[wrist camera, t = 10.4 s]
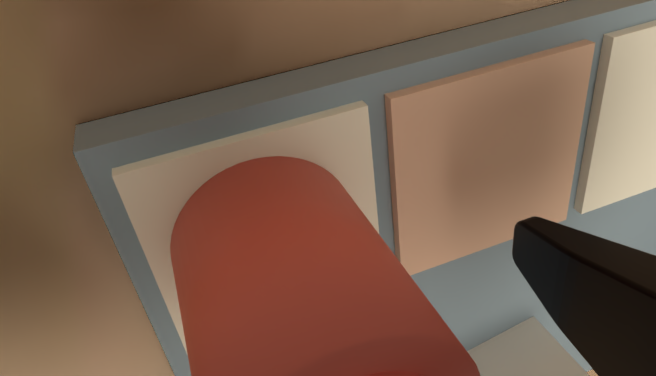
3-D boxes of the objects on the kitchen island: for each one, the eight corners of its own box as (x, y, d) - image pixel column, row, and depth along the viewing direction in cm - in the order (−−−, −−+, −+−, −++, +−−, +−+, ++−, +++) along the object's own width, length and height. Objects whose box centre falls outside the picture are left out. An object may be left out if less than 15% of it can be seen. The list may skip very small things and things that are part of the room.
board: (798, 250, 24) (835, 270, 23) (234, 486, 18) (243, 531, 17) (973, -102, 16) (1044, -99, 15) (75, 125, 10) (71, 160, 9)
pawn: (357, 281, 13) (573, 634, 7) (193, 333, 12) (283, 795, 6) (348, 136, 11) (648, 467, 5) (147, 184, 10) (215, 675, 4)
